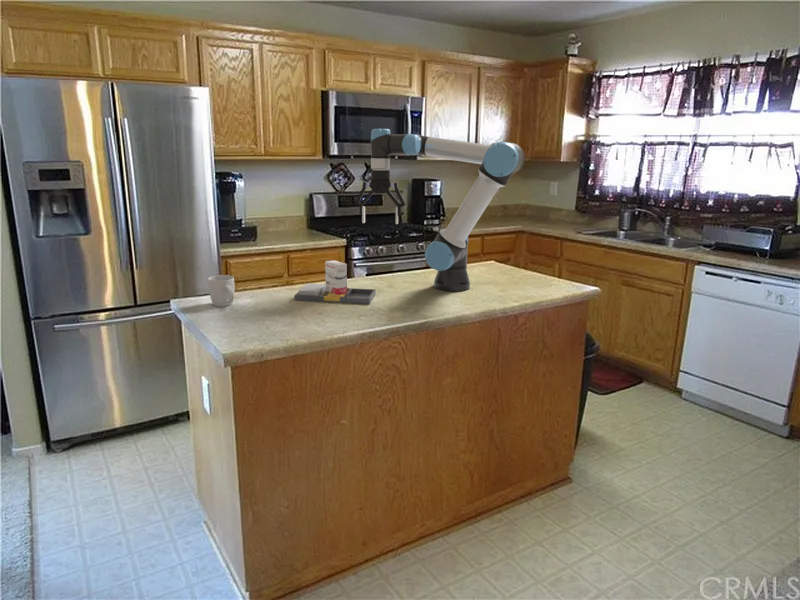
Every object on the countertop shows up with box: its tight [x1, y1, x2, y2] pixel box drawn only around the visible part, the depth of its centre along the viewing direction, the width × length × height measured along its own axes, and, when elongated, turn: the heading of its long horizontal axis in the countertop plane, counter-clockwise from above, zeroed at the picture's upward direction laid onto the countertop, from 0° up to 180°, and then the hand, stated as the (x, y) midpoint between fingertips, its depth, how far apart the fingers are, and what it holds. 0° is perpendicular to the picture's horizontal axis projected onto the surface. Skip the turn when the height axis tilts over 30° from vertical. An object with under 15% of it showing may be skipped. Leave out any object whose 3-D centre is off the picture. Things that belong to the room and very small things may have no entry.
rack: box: [294, 287, 377, 305], centre depth 213 cm, size 29×14×2 cm, turn 83°
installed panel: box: [298, 283, 326, 296], centre depth 213 cm, size 8×11×3 cm
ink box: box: [324, 260, 348, 295], centre depth 211 cm, size 8×5×12 cm, turn 39°
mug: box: [207, 274, 236, 308], centre depth 198 cm, size 13×9×10 cm
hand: (380, 223), depth 223 cm, fingers open, 13 cm apart
